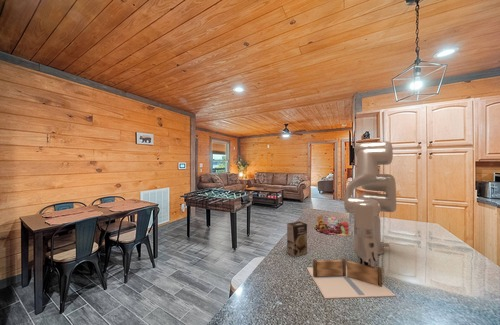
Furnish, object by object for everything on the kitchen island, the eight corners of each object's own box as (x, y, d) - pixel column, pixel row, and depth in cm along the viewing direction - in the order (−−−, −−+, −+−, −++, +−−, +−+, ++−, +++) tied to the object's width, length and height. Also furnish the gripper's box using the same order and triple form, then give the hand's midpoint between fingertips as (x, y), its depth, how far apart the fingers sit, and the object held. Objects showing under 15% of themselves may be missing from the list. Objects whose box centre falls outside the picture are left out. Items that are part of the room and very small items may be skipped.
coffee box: (294, 257, 97) (294, 226, 98) (286, 252, 103) (286, 223, 103) (307, 253, 102) (307, 223, 102) (299, 249, 107) (299, 220, 108)
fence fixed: (344, 274, 82) (344, 258, 82) (346, 276, 80) (346, 260, 80) (312, 275, 81) (312, 259, 81) (313, 277, 80) (313, 261, 80)
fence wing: (347, 277, 80) (346, 260, 80) (347, 275, 81) (347, 259, 81) (382, 287, 73) (382, 269, 73) (382, 285, 74) (381, 267, 74)
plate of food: (315, 234, 130) (314, 220, 131) (313, 224, 153) (313, 212, 153) (355, 238, 123) (355, 223, 123) (347, 226, 146) (347, 214, 146)
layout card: (361, 266, 88) (361, 265, 88) (395, 296, 68) (395, 295, 68) (306, 268, 87) (306, 267, 87) (325, 299, 67) (324, 297, 67)
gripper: (385, 237, 72) (386, 285, 72) (361, 224, 87) (362, 264, 87) (366, 238, 72) (367, 286, 72) (345, 225, 87) (346, 265, 87)
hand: (364, 274), depth 80 cm, fingers closed
